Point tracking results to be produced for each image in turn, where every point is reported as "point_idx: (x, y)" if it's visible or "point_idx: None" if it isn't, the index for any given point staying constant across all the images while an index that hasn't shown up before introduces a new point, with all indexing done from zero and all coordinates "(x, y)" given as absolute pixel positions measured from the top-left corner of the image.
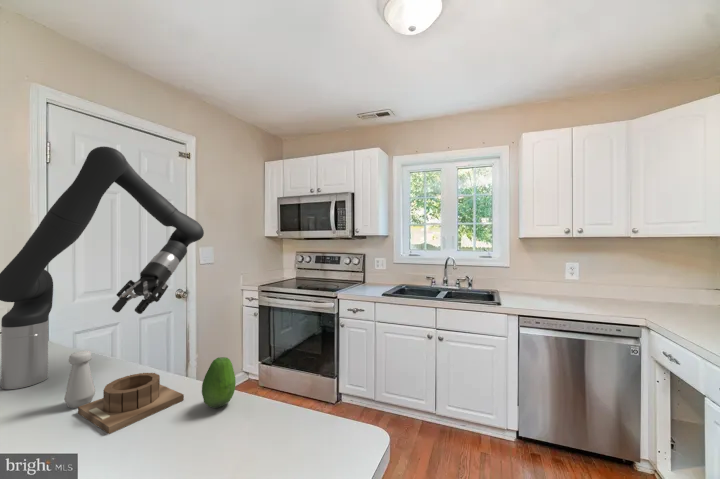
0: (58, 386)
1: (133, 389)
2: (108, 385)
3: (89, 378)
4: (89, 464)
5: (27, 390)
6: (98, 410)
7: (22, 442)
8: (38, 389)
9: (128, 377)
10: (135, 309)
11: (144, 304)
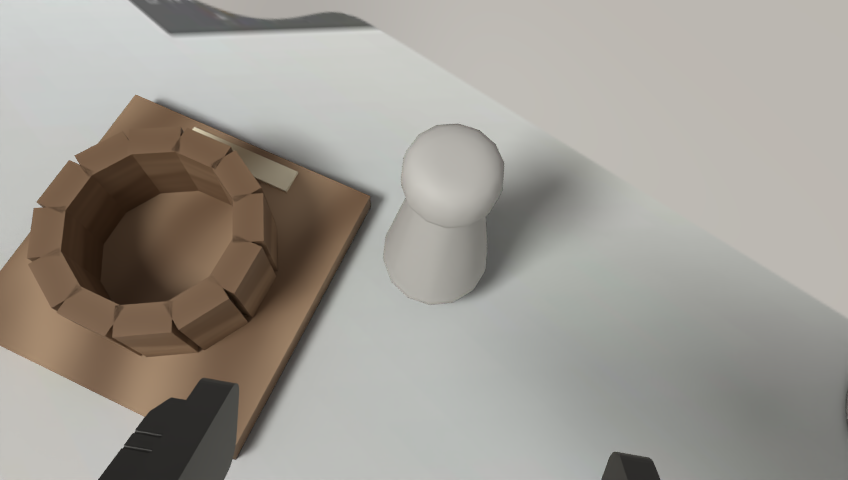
0: (711, 406)
1: (95, 162)
2: (248, 188)
3: (398, 232)
4: (98, 2)
5: (803, 356)
6: (258, 173)
7: (385, 64)
8: (766, 369)
9: (214, 272)
10: (221, 383)
11: (116, 468)
